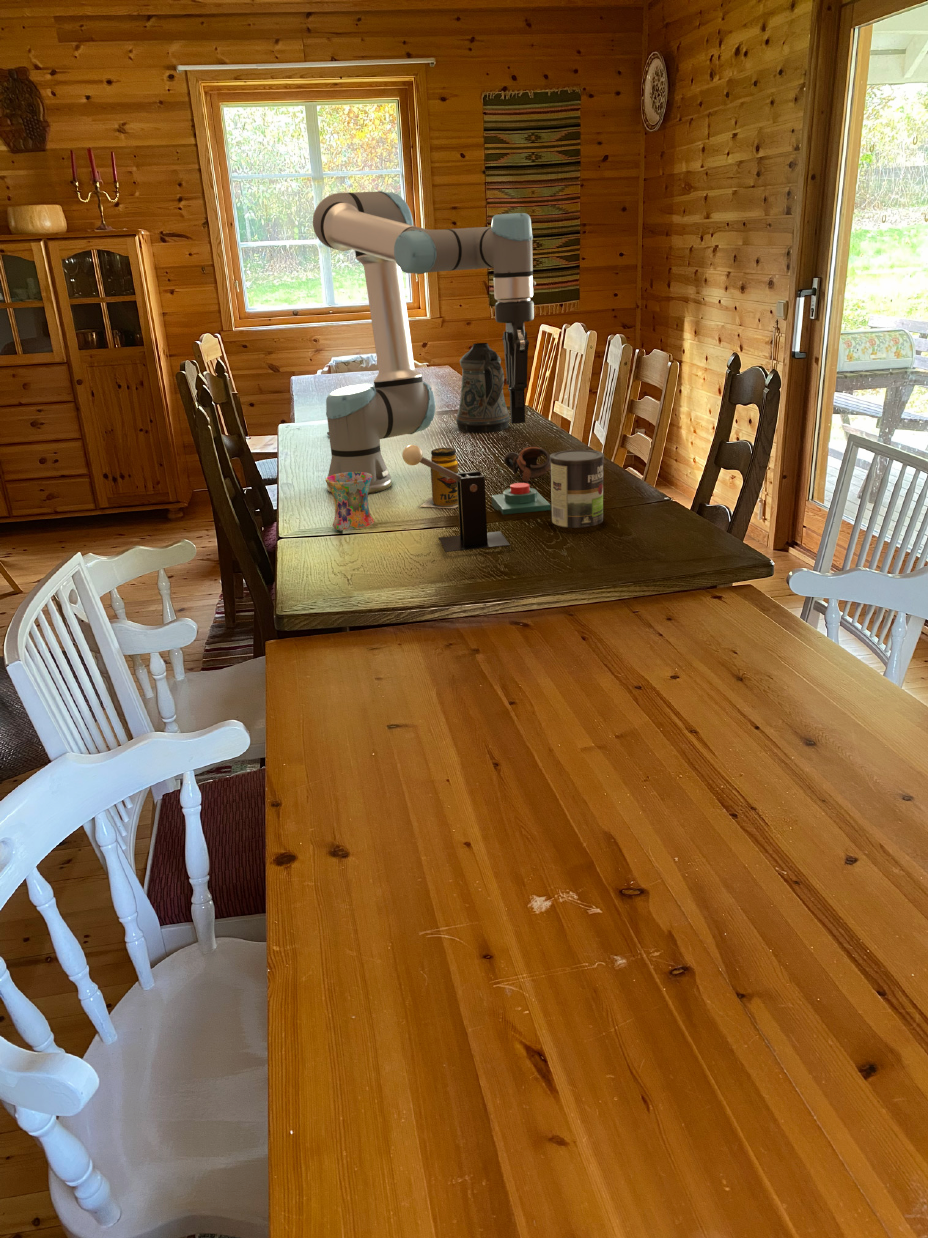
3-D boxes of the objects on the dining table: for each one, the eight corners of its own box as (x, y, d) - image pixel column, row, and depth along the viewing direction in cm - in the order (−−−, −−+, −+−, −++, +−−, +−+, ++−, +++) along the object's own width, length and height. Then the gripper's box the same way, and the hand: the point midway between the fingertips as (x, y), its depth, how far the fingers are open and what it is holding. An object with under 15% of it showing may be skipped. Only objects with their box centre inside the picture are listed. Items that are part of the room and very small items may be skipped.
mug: (373, 533, 183) (368, 481, 179) (327, 535, 183) (321, 483, 179) (381, 517, 194) (376, 467, 190) (338, 518, 194) (332, 469, 190)
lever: (399, 461, 161) (409, 443, 160) (397, 457, 164) (406, 439, 164) (474, 498, 166) (483, 481, 165) (470, 493, 169) (480, 476, 168)
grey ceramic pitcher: (476, 421, 292) (472, 339, 283) (528, 425, 281) (526, 340, 272) (445, 430, 280) (440, 346, 271) (498, 435, 269) (495, 347, 260)
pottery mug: (554, 474, 223) (558, 448, 216) (542, 499, 217) (546, 474, 211) (507, 461, 225) (510, 435, 218) (495, 486, 219) (497, 460, 213)
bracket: (445, 557, 166) (441, 483, 161) (438, 543, 174) (434, 472, 169) (510, 550, 168) (507, 477, 163) (500, 537, 176) (497, 466, 171)
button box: (491, 504, 198) (491, 486, 196) (536, 500, 199) (536, 482, 198) (503, 519, 187) (502, 500, 186) (550, 514, 188) (550, 496, 187)
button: (508, 491, 193) (508, 483, 193) (527, 490, 194) (527, 481, 193) (512, 496, 190) (512, 488, 189) (531, 494, 190) (531, 486, 190)
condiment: (456, 508, 197) (452, 453, 192) (419, 507, 199) (415, 452, 195) (466, 499, 203) (463, 445, 199) (430, 498, 206) (426, 445, 201)
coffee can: (611, 521, 182) (612, 450, 177) (590, 535, 174) (590, 462, 169) (565, 515, 187) (564, 447, 182) (541, 529, 179) (540, 458, 174)
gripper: (541, 300, 172) (543, 426, 181) (525, 297, 184) (528, 415, 193) (502, 303, 171) (506, 429, 180) (488, 299, 183) (493, 418, 192)
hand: (517, 422), depth 186 cm, fingers closed
